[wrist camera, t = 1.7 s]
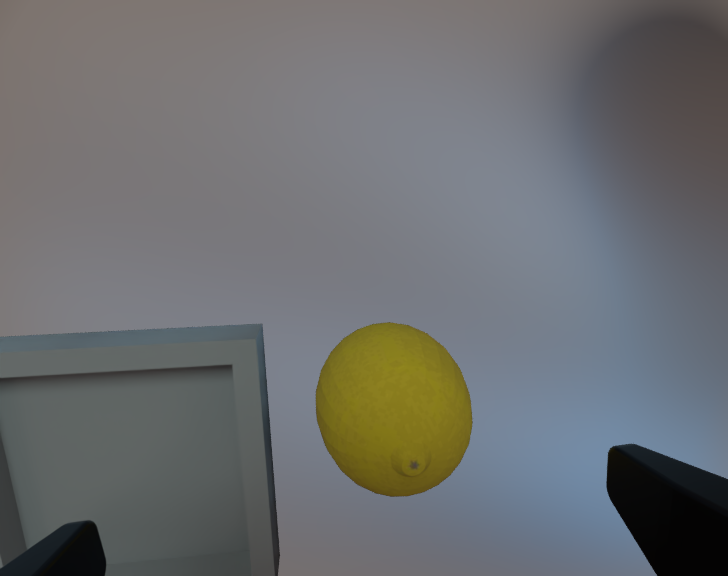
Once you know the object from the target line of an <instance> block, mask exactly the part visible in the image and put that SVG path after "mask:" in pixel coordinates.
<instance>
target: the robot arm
mask: <svg viewBox="0 0 728 576" xmlns="http://www.w3.org/2000/svg"><path fill="white" fill-rule="evenodd" d="M607 492H608V494H609V497H610V500H611V501H612V503H613V505H614V506H615V508H616V510H617V511H618V513H619V514H620V516H621V518H622V519H623V521H624V522H625V524H626V526H627V527H628V529H629V530H630V532H631V534H632V535H633V537H634V539H635V540H636V542H637V544H638V545H639V547H640V548H641V550H642V552H643V553H644V555H645V557H646V558H647V560H648V562H649V563H650V565H651V566H652V568H653V570H654V571H655V573H656V574H657V576H728V479H726V478H724V477H721V476H718V475H716V474H713V473H710V472H708V471H705V470H702V469H700V468H697V467H694V466H692V465H689V464H686V463H683V462H681V461H678V460H676V459H673V458H670V457H668V456H665V455H663V454H660V453H657V452H655V451H652V450H649V449H647V448H644V447H641V446H638V445H636V444H626V445H619V446H613V447H612V448H610V450H609V452H608V464H607ZM105 573H106V557H105V553H104V550H103V546H102V542H101V539H100V535H99V532H98V528H97V526H96V524H95V523H94V522H93V521H91V520H84V521H77V522H70V523H66V524H64V525H62V526H61V527H59V528H58V529H56V530H55V531H54V532H52V533H51V534H49V535H48V536H46V537H45V538H43V539H42V540H41V541H39V542H38V543H36V544H35V545H33V546H32V547H30V548H29V549H28V550H26V551H25V552H23V553H22V554H20V555H19V556H17V557H16V558H15V559H13V560H12V561H10V562H9V563H7V564H6V565H5V566H3V567H2V568H0V576H105Z"/></svg>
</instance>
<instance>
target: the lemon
mask: <svg viewBox="0 0 728 576" xmlns="http://www.w3.org/2000/svg"><path fill="white" fill-rule="evenodd" d="M316 414H317V422H318V425H319V428H320V431H321V434H322V437H323V440H324V443H325V446H326V448H327V450H328V452H329V453H330V455H331V456H332V458H333V459H334V460H335V462H336V464H337V465H338V467H339V468H340V469H341V471H342V472H343V473H345V474H346V475H347V476H348V477H349V478H350V479H352V480H353V481H354V482H355V483H356V484H358V485H359V486H362V487H364V488H366V489H368V490H370V491H372V492H374V493H377V494H382V495H386V496H391V497H394V496H410V495H414V494H418V493H422V492H425V491H427V490H429V489H431V488H433V487H435V486H437V485H439V484H440V483H441V482H442V481H443V480H445V479H446V478H447V477H448V476H450V475H451V473H452V472H453V471H454V470H455V468H456V467H457V466H458V464H459V463H460V462H461V460H462V458H463V455H464V453H465V451H466V449H467V447H468V445H469V440H470V435H471V429H472V411H471V400H470V395H469V392H468V389H467V386H466V383H465V381H464V378H463V375H462V372H461V370H460V368H459V367H458V365H457V363H456V362H455V361H454V360H453V358H452V357H451V355H450V354H449V353H448V351H447V350H446V349H445V348H444V347H443V346H442V345H441V344H440V343H438V342H437V341H436V340H434V339H433V338H432V337H431V336H429V335H428V334H427V333H425V332H423V331H420V330H418V329H415V328H413V327H411V326H409V325H403V324H397V323H390V322H389V323H380V324H372V325H369V326H366V327H364V328H361V329H358V330H356V331H354V332H353V333H352V334H350V335H349V336H347V337H345V338H344V339H343V340H342V341H341V342H340V343H339V344H338V345H337V346H336V347H335V348H334V349H333V351H332V352H331V353H330V355H329V357H328V359H327V360H326V362H325V364H324V366H323V368H322V370H321V373H320V377H319V381H318V385H317V389H316Z"/></svg>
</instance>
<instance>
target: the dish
mask: <svg viewBox="0 0 728 576" xmlns="http://www.w3.org/2000/svg"><path fill="white" fill-rule="evenodd" d="M84 520H91V521H93V522H94V523H95V524H96V526H97V528H98V532H99V535H100V539H101V542H102V546H103V550H104V553H105V557H106V573H105V576H278V567H279V557H280V552H279V538H278V526H277V512H276V500H275V486H274V473H273V461H272V447H271V434H270V420H269V407H268V394H267V380H266V367H265V354H264V342H263V328H262V324H247V325H227V326H207V327H187V328H170V329H169V328H167V329H147V330H128V331H108V332H88V333H70V334H69V333H68V334H49V335H29V336H9V337H0V568H2V567H3V566H5V565H6V564H7V563H9V562H10V561H12V560H13V559H15V558H16V557H17V556H19V555H20V554H22V553H23V552H25V551H26V550H28V549H29V548H30V547H32V546H33V545H35V544H36V543H38V542H39V541H41V540H42V539H43V538H45V537H46V536H48V535H49V534H51V533H52V532H54V531H55V530H56V529H58V528H59V527H61V526H62V525H64V524H66V523H70V522H77V521H84Z"/></svg>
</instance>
